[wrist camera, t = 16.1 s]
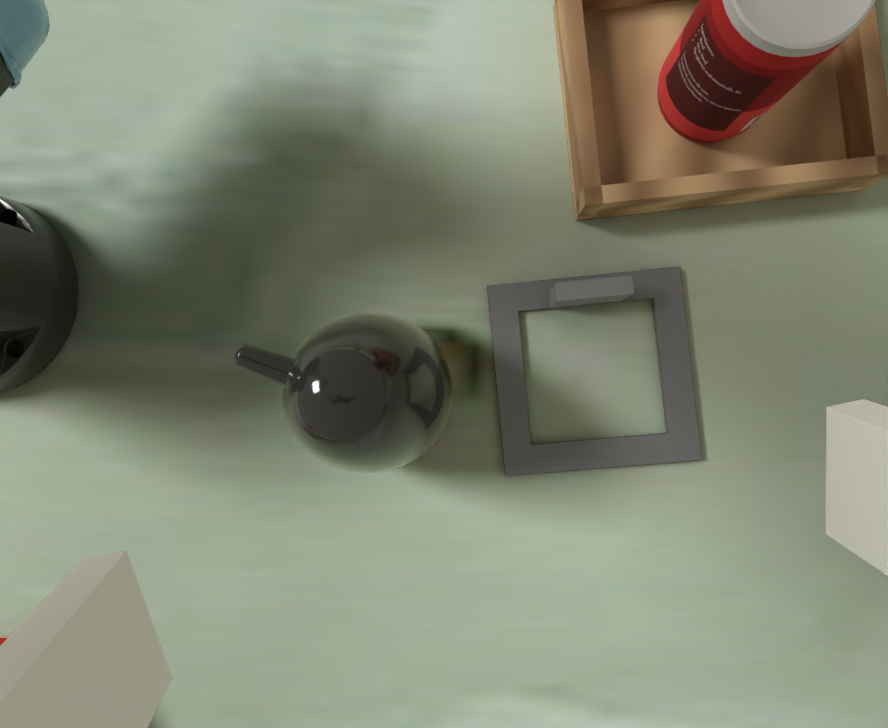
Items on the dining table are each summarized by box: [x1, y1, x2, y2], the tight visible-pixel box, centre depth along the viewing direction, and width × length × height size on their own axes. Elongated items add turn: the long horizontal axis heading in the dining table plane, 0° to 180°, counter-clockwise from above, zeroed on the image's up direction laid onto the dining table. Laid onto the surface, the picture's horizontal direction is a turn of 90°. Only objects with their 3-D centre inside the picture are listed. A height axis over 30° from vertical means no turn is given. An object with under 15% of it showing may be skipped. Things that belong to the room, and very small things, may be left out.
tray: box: [553, 0, 888, 220], centre depth 37 cm, size 20×16×3 cm
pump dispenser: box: [234, 313, 453, 473], centre depth 31 cm, size 10×10×15 cm
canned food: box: [657, 0, 876, 143], centre depth 32 cm, size 8×8×11 cm
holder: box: [487, 267, 702, 476], centre depth 37 cm, size 14×14×4 cm
